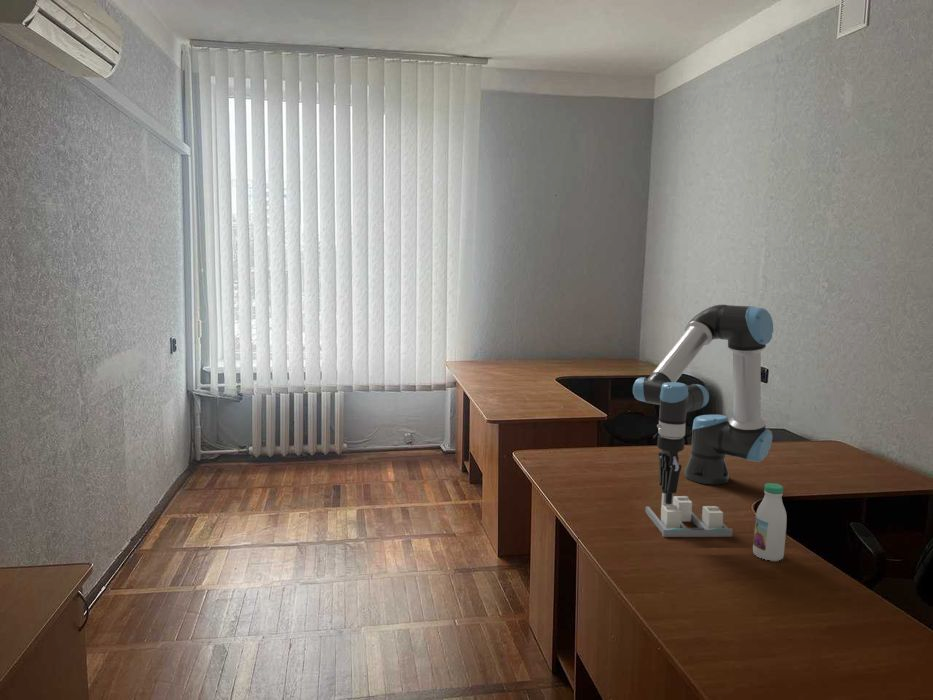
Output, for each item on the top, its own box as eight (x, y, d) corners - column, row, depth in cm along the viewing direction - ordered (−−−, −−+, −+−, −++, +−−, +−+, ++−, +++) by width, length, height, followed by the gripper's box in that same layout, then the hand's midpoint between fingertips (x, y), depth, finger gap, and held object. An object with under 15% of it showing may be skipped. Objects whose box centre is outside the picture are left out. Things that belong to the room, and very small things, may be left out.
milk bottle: (781, 551, 184) (788, 482, 181) (785, 564, 177) (791, 492, 174) (751, 547, 187) (757, 479, 184) (753, 559, 180) (759, 488, 177)
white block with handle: (673, 524, 198) (675, 502, 197) (679, 531, 193) (681, 509, 192) (660, 524, 198) (661, 502, 197) (666, 531, 193) (667, 509, 192)
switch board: (706, 516, 208) (707, 504, 208) (731, 541, 191) (732, 528, 190) (643, 516, 208) (644, 505, 207) (662, 541, 190) (663, 529, 189)
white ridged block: (684, 514, 205) (686, 494, 204) (690, 521, 200) (692, 500, 199) (672, 514, 205) (673, 494, 204) (677, 521, 200) (679, 500, 199)
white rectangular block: (714, 525, 198) (716, 503, 197) (721, 532, 193) (723, 510, 192) (701, 525, 198) (702, 504, 197) (708, 532, 193) (709, 510, 192)
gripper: (651, 429, 201) (647, 504, 205) (666, 442, 188) (660, 521, 192) (676, 429, 201) (671, 504, 205) (692, 442, 188) (686, 521, 192)
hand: (666, 512), depth 198 cm, fingers closed
